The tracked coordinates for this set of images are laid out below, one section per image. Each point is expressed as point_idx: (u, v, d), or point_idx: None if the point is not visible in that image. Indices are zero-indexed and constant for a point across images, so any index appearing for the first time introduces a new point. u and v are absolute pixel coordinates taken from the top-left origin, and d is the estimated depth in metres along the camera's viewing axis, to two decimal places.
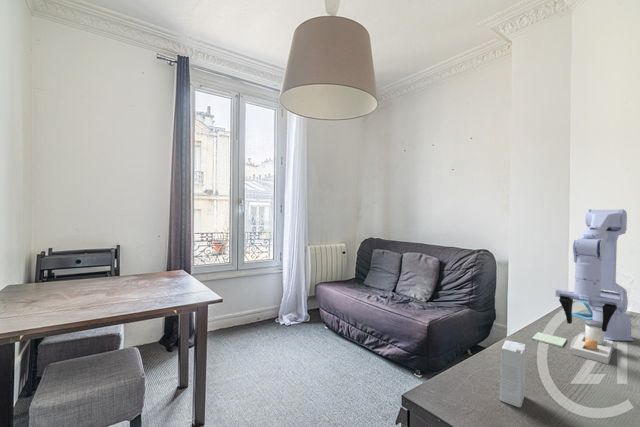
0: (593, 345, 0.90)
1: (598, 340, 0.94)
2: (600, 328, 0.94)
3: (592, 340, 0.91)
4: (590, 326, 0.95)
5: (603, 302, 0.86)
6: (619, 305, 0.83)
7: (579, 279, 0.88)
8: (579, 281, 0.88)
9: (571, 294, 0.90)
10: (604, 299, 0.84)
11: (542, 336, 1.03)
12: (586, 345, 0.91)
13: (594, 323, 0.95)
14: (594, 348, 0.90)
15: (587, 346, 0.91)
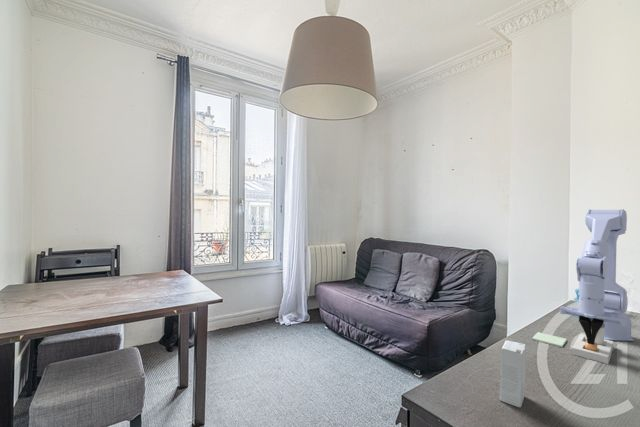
0: (593, 348, 0.90)
1: (598, 340, 0.94)
2: (600, 328, 0.94)
3: None
4: None
5: (607, 320, 0.88)
6: (623, 324, 0.85)
7: (583, 298, 0.90)
8: (583, 300, 0.90)
9: (576, 312, 0.92)
10: (608, 318, 0.87)
11: (542, 336, 1.03)
12: (586, 348, 0.91)
13: None
14: (594, 351, 0.90)
15: (587, 349, 0.91)
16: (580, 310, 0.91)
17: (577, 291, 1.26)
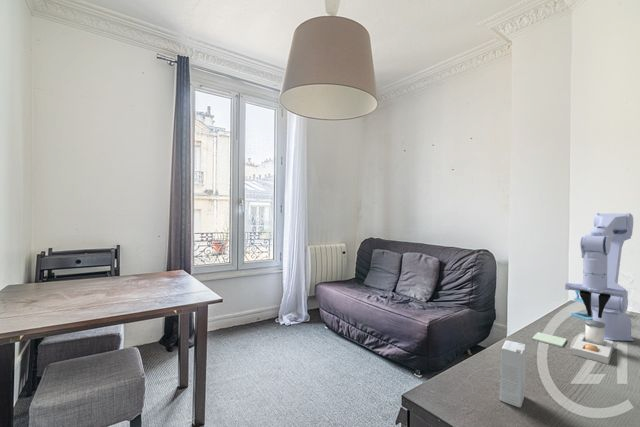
0: None
1: (598, 340, 0.94)
2: (600, 328, 0.94)
3: (592, 346, 0.91)
4: (590, 326, 0.95)
5: (610, 293, 0.94)
6: (625, 296, 0.91)
7: (587, 273, 0.96)
8: (588, 275, 0.96)
9: (580, 287, 0.97)
10: (611, 291, 0.92)
11: (542, 336, 1.03)
12: None
13: (594, 323, 0.95)
14: None
15: None
16: (584, 285, 0.97)
17: (577, 291, 1.26)
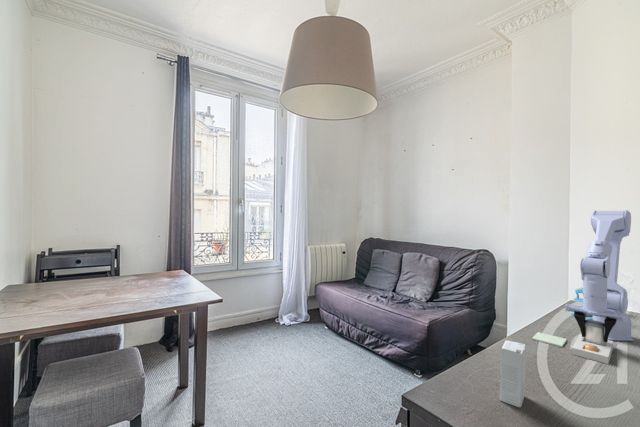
0: None
1: (598, 340, 0.94)
2: (600, 328, 0.94)
3: (592, 346, 0.91)
4: (590, 326, 0.95)
5: (610, 317, 0.93)
6: (625, 320, 0.91)
7: (587, 296, 0.96)
8: (587, 298, 0.96)
9: (580, 309, 0.97)
10: (611, 314, 0.92)
11: (542, 336, 1.03)
12: None
13: (594, 323, 0.95)
14: None
15: None
16: (584, 307, 0.97)
17: (577, 291, 1.26)
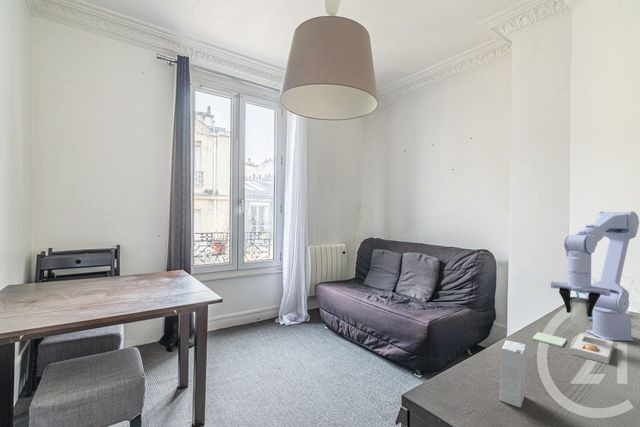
0: None
1: (582, 315, 0.96)
2: (584, 303, 0.96)
3: (592, 346, 0.91)
4: (575, 302, 0.97)
5: (593, 292, 0.95)
6: (608, 294, 0.92)
7: (572, 272, 0.98)
8: (572, 274, 0.97)
9: (565, 286, 0.99)
10: (595, 289, 0.94)
11: (542, 336, 1.03)
12: None
13: (578, 299, 0.97)
14: None
15: None
16: (569, 283, 0.99)
17: (577, 291, 1.26)
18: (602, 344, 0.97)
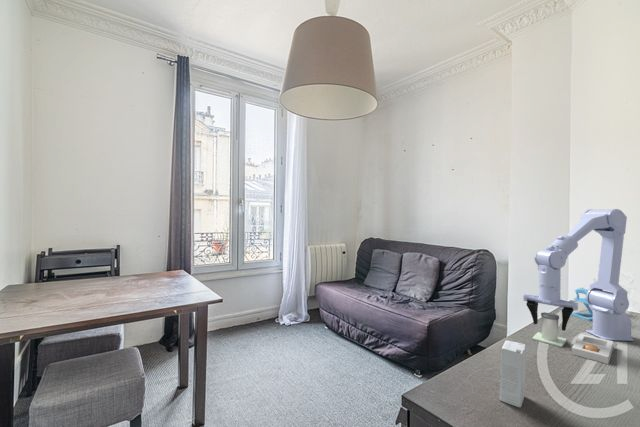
0: None
1: (552, 331, 1.00)
2: (554, 320, 0.99)
3: (592, 346, 0.91)
4: (545, 318, 1.01)
5: (562, 305, 0.99)
6: (575, 308, 0.96)
7: (542, 286, 1.01)
8: (542, 288, 1.01)
9: (536, 299, 1.03)
10: (563, 303, 0.98)
11: None
12: None
13: (549, 315, 1.01)
14: None
15: None
16: (540, 297, 1.02)
17: (577, 291, 1.26)
18: (602, 344, 0.97)
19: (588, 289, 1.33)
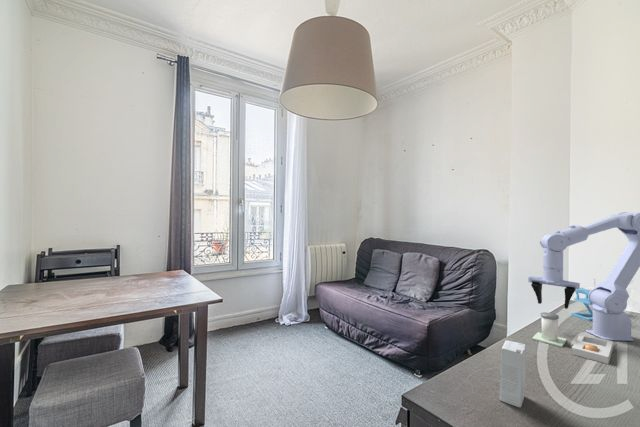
0: None
1: (552, 331, 1.00)
2: (553, 320, 0.99)
3: (592, 346, 0.91)
4: (544, 318, 1.01)
5: (565, 285, 1.06)
6: (577, 287, 1.03)
7: (546, 268, 1.09)
8: (546, 269, 1.09)
9: (540, 280, 1.10)
10: (565, 283, 1.05)
11: None
12: None
13: (548, 315, 1.01)
14: None
15: None
16: (544, 278, 1.10)
17: (577, 291, 1.26)
18: (602, 344, 0.97)
19: (588, 289, 1.33)
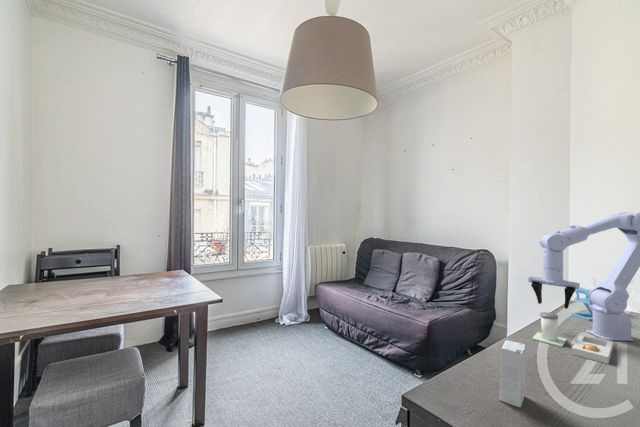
0: None
1: (551, 331, 1.00)
2: (553, 320, 1.00)
3: (592, 346, 0.91)
4: (544, 318, 1.01)
5: (565, 285, 1.06)
6: (577, 287, 1.03)
7: (546, 268, 1.09)
8: (546, 269, 1.09)
9: (540, 280, 1.10)
10: (565, 283, 1.05)
11: None
12: None
13: (548, 315, 1.01)
14: None
15: None
16: (544, 278, 1.10)
17: (577, 291, 1.26)
18: (602, 344, 0.97)
19: (588, 289, 1.33)
